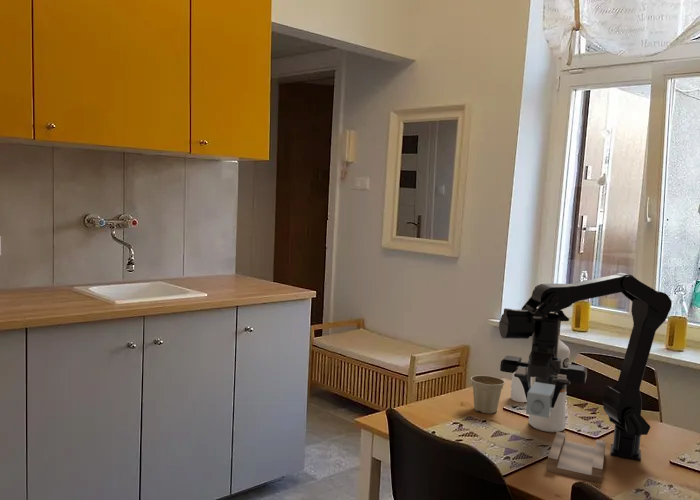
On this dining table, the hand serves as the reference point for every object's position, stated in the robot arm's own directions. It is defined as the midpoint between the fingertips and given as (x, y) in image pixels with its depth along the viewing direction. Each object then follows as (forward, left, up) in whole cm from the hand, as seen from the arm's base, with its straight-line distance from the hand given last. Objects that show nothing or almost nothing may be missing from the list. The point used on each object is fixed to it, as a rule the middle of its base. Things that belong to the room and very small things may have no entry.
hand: (540, 405), depth 143 cm
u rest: (+1, +9, -11) cm, 14 cm away
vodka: (-19, 0, -11) cm, 22 cm away
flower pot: (-23, -17, -11) cm, 31 cm away
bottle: (+1, 0, -1) cm, 2 cm away
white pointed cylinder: (-39, -10, -11) cm, 42 cm away
